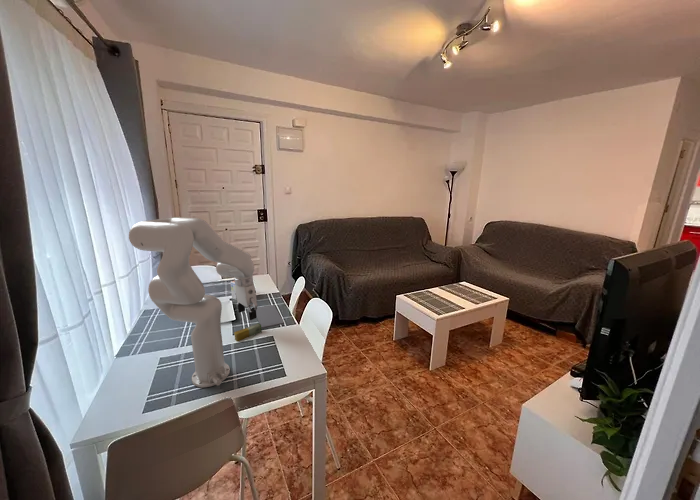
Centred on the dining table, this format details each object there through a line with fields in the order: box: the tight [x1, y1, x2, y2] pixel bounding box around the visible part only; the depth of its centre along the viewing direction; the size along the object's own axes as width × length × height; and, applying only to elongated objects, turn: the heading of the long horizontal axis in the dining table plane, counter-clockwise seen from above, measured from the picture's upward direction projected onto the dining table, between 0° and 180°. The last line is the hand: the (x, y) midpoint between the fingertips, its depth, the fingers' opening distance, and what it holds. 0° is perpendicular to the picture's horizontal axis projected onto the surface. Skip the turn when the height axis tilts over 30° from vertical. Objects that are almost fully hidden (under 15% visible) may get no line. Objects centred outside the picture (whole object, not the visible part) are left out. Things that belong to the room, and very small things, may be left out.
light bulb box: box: [230, 280, 237, 301], centre depth 166 cm, size 11×7×11 cm, turn 58°
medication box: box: [233, 322, 263, 343], centre depth 128 cm, size 12×3×4 cm, turn 133°
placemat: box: [256, 304, 284, 329], centre depth 147 cm, size 22×11×1 cm, turn 27°
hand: (247, 315), depth 127 cm, fingers open, 9 cm apart
